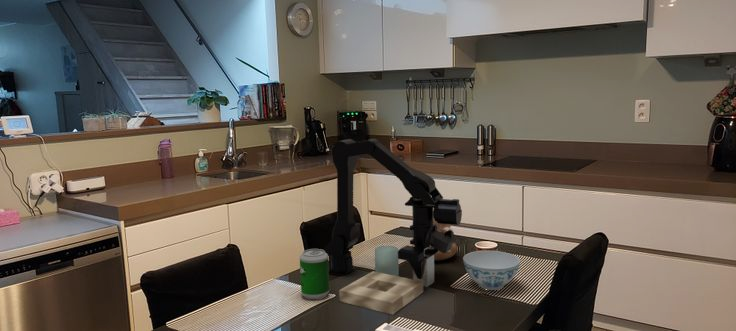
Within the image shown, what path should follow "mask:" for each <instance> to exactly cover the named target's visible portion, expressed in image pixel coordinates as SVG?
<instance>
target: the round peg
mask: <svg viewBox="0 0 736 331" xmlns="http://www.w3.org/2000/svg"><path fill="white" fill-rule="evenodd" d="M398 251H399V247H398V246H393V245H381V246H380V245H379V246H377V247H376V248H374V262H375V263H374V267H375V268H374V270H375V271H374V272H379V273H384V274H389V275H394V276H398V277H400V274H399V271H400V270H399V268H400V267H399V266H400V265H399V259H398Z"/></svg>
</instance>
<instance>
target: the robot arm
mask: <svg viewBox="0 0 736 331" xmlns="http://www.w3.org/2000/svg"><path fill="white" fill-rule="evenodd" d="M330 152H331V159H332V163H333V165H334V168H335V170H336V186H337V187H336V190H337V191H336V197H337V198H336V206H337V208H336V211H337V212H336V214H337V215H336V216H337V218H336V220H335V224H334V227H333V228H332V234H331V241H329V243H328V244H327V245H326V246H325V247H324V248H323V250H324V251H325V253H327V254H328V268H329V274H332V275H337V276H342V277H343V276H346V275H348V274H350V273H351V272H353V271H354V270H355V269H356V268H355V267H354V266H353V264H354V262H353V256H352V251H350V250H352V249H353V248H354V247H355V246H354V245H355V244H356V243H358V241H359V237H360V236H361V232H360V229H361V223H360V222H358V223H357V222H356V221H355V218H354V169H355V168H356V165H357V162H358V158H359V156H361V155H366V154H367V155H369V156H370V157H372V158H373V159H374V160H375V161H377V163H379V164H380V165H381V166H383V167H384V168H385V169H386V170H388V172H390V173H392V175H394V177H396V178H397V179H398V180H399V181H400V182H401V183H402V185H403V188H404V189H405V190H406V191H407V192H408V193H409V194H410V197H409V198H408V200H407V201H406V202H405V203H404V206H405V207H410V206H411V207H412V212H411V213H412V224H411V225H409V230H410V231H412V239H411V240H409V244H410V245H404V246H403V247H401V248H400V249H398V260H402V261H408V263H409V264H410V266H411V268H412V271H413V270H414V272H415V274H416V276H417V278H418V279H421V278H422V273H423V263H424V261H425V260H426V259H427V258H428V257H427V256H424V253H428V254H434V256H435V254H436V253H437V252H438V251H440V252H442V253H446V252H447V251H449V250H451V247H452V244H453V243H455V242H456V240H455V239H456V238H455V233H454V231H451V230H448V231H446V232H445V233H443V232H439V231H437V226H436V225H435V224H433V217H434V219H435V221H437V223H439V224H451V226H452V225H454V226H459V225H460V224H461V221H462V217H463V210H462V206H461V204H460V199H458V198H457V199H447V198H444V197H443V195H442V194H441V192H440V191H439V190H438V188H437V186H436V181H435V179H434V178H433V177H432V176H430V175H428V174H426V173H425V172H423V171H421V170H417V169H415V168H413V167H411V166H410V165H408V164H407V163H406V162H405V161H403V159H401V158H400V157H398V156H397V155H396V154H395V153H393V151H392V150H389V148H387V147H386V146H385V145H383V144H382V143H381V142H380V140H378V139H377V138H371V139H366V140H359V141H358V140H357V141H355V140H354V139H351V138H349V139H343V140H339V141H336V142H335V143H334V144H332V146H331V151H330ZM412 244H413V245H414V246H415V247H414V246H412ZM455 244H456V243H455Z"/></svg>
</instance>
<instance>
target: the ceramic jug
mask: <svg viewBox="0 0 736 331" xmlns="http://www.w3.org/2000/svg"><path fill="white" fill-rule="evenodd" d="M433 224H435V225H436V226H437V231H439V232H443V233H445V232H446V231H448V230H451V231H453V229H452V228H451V226H452V225H451V224H439V223H437V221H435V219H434V217H433ZM453 232H454V231H453ZM411 246H414V245H413V244H411ZM414 247H415V246H414ZM457 249H458V246H457V244H456V243H453V244H452V247H451V250H449V251H447V252H446V253H442V252H440V251H438V252H437V253H436V254H435V256H434V262H436V261H438V262H439V261H445V260H448V259H450V258H452V257H453V256H455V254H457V251H458V250H457Z"/></svg>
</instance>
